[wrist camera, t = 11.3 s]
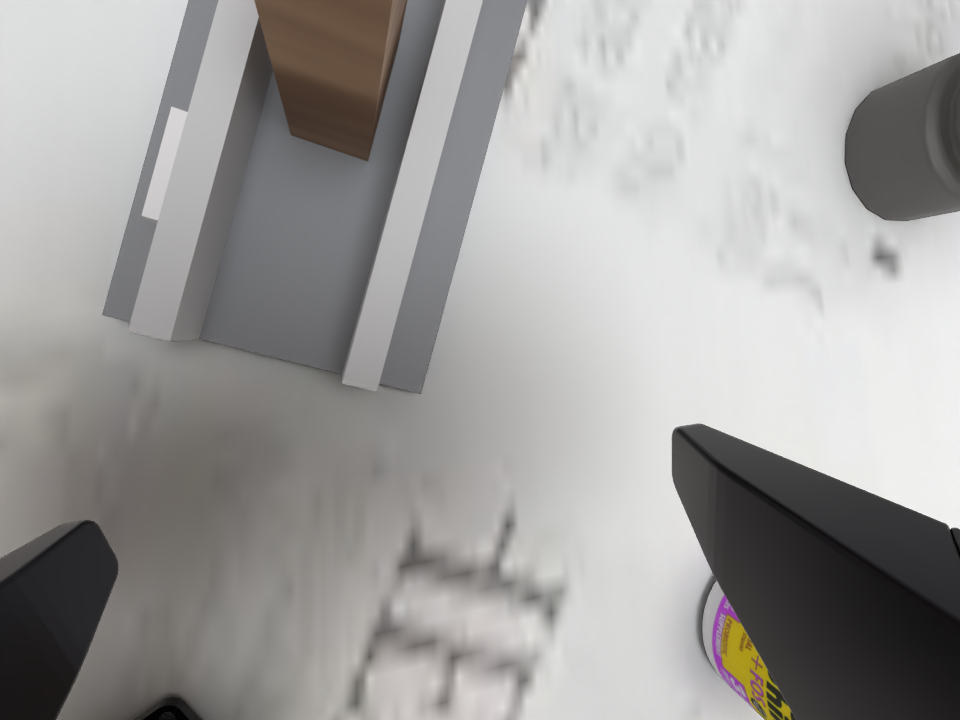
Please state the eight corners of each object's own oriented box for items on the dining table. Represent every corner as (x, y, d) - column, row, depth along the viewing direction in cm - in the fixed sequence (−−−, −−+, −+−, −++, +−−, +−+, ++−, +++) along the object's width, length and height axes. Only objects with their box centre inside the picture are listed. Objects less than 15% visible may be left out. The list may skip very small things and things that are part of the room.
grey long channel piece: (416, 389, 20) (435, 406, 16) (118, 315, 17) (50, 312, 13) (542, -78, 20) (593, -180, 16) (264, -218, 18) (241, -382, 14)
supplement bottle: (700, 544, 23) (1102, 788, 11) (823, 538, 25) (1294, 745, 13) (688, 693, 24) (1067, 1093, 11) (811, 677, 25) (1259, 1013, 13)
